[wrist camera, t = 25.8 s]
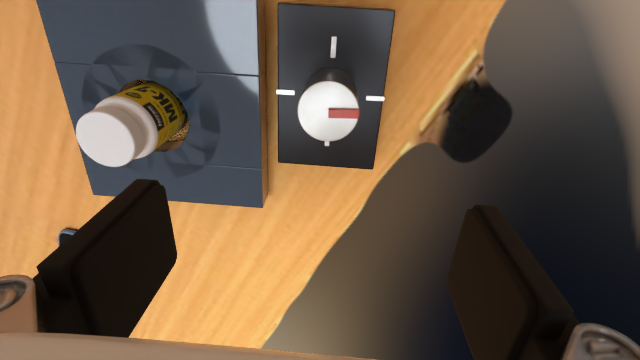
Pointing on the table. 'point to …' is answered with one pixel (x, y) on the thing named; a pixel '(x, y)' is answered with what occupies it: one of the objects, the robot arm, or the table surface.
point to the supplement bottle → (130, 124)
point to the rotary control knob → (328, 105)
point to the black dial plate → (332, 52)
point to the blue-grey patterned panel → (173, 88)
